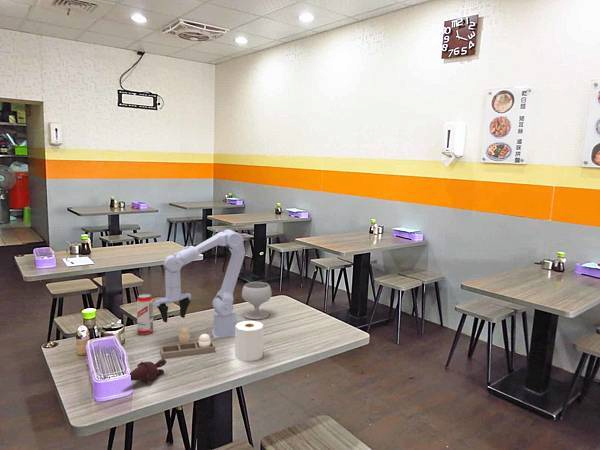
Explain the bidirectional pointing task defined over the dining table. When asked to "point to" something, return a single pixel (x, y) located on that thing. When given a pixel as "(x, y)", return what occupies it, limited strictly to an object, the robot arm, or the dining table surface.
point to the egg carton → (185, 350)
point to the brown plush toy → (147, 371)
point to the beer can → (144, 314)
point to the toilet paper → (249, 340)
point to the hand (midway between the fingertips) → (174, 319)
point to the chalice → (256, 298)
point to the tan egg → (184, 335)
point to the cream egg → (204, 341)
